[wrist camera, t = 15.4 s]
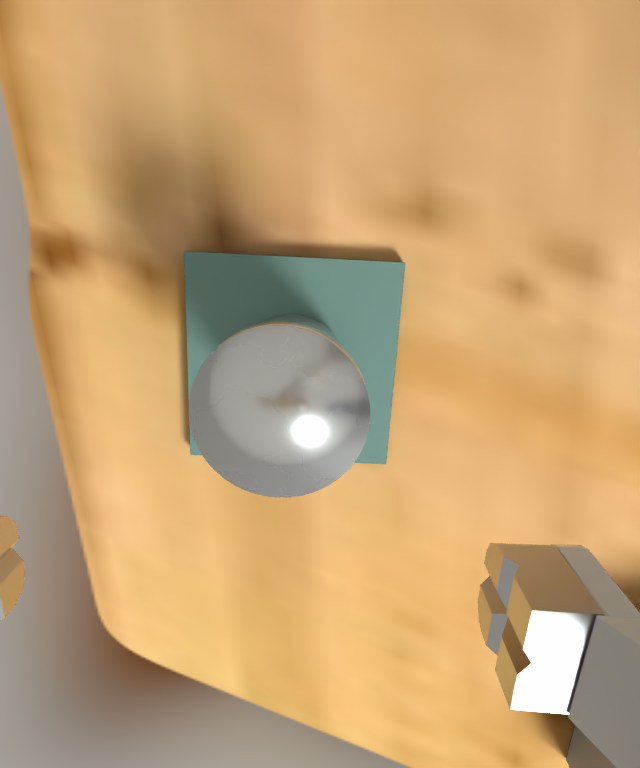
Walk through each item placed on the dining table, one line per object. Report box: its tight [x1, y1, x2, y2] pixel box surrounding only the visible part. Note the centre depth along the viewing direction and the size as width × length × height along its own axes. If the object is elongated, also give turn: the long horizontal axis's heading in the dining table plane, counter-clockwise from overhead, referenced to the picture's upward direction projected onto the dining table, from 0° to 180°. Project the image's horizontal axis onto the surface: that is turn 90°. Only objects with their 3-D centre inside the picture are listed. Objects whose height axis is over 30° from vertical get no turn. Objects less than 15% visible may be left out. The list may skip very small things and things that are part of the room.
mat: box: [184, 251, 405, 464], centre depth 23 cm, size 10×10×1 cm
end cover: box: [188, 314, 370, 497], centre depth 20 cm, size 6×6×7 cm
